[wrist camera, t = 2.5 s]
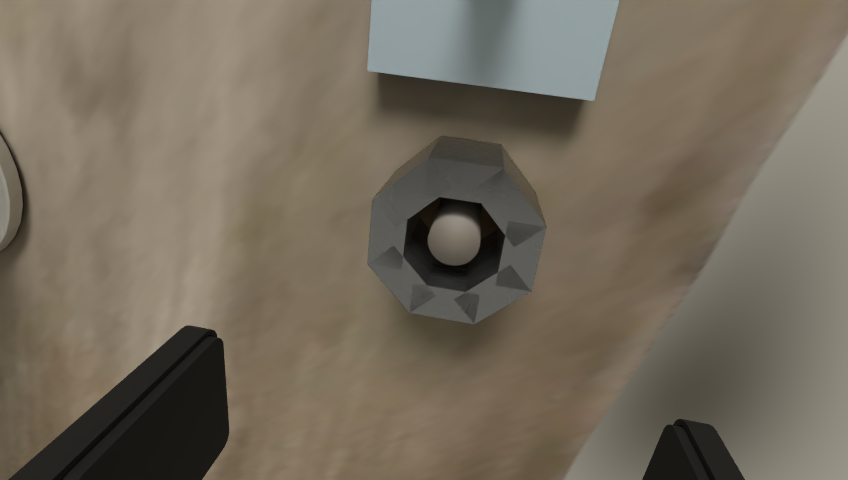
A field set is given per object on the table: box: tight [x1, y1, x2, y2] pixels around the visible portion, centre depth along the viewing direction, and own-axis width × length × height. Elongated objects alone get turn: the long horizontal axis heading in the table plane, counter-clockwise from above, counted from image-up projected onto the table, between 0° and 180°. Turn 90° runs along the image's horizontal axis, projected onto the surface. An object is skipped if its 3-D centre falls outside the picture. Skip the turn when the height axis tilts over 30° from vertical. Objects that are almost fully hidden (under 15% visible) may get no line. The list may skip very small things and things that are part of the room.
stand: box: [420, 197, 497, 265], centre depth 22 cm, size 6×6×6 cm
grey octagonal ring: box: [367, 136, 547, 324], centre depth 21 cm, size 7×7×5 cm
